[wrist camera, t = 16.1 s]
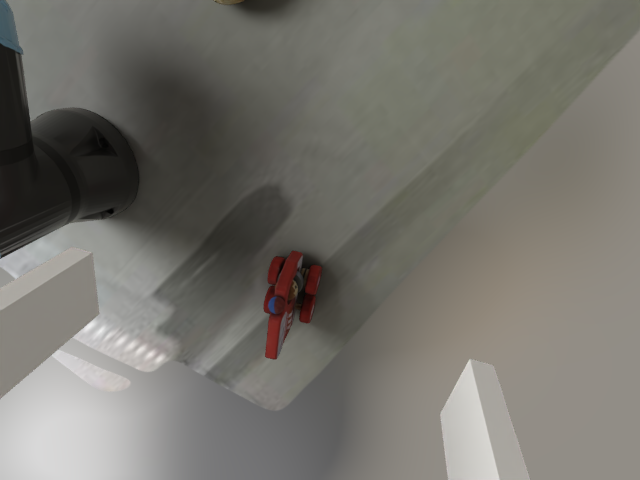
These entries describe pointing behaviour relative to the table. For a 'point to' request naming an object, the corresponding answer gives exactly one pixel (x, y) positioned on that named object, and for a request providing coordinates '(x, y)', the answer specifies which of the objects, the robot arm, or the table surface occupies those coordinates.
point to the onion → (228, 1)
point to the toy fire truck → (288, 298)
